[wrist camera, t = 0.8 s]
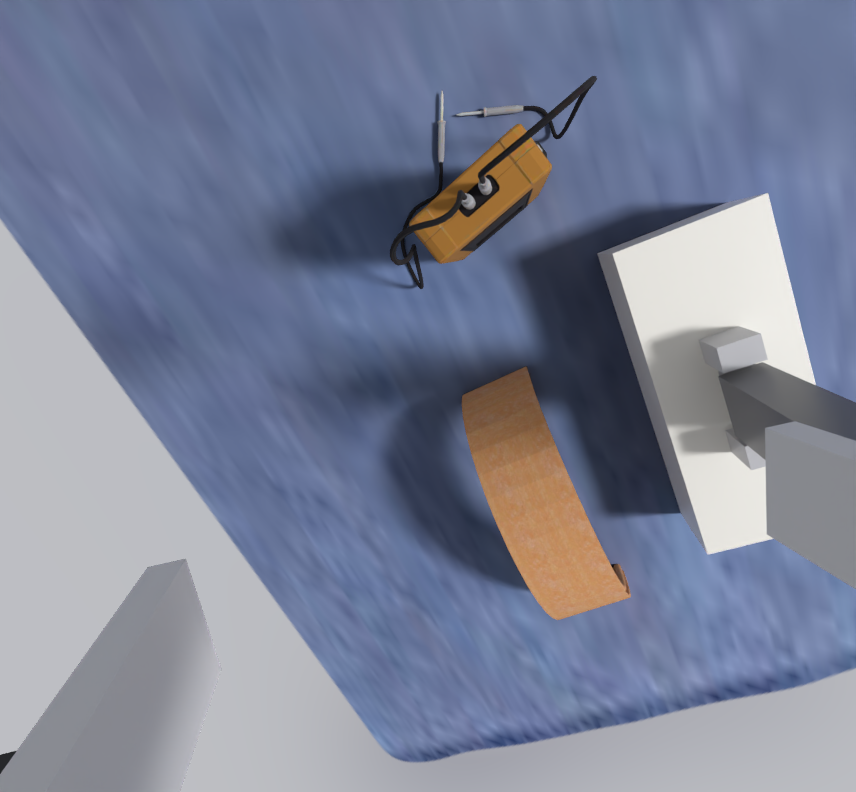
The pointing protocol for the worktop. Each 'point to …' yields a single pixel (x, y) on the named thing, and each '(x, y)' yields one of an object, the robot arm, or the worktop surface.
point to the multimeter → (483, 189)
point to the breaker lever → (781, 404)
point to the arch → (537, 500)
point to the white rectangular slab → (708, 352)
